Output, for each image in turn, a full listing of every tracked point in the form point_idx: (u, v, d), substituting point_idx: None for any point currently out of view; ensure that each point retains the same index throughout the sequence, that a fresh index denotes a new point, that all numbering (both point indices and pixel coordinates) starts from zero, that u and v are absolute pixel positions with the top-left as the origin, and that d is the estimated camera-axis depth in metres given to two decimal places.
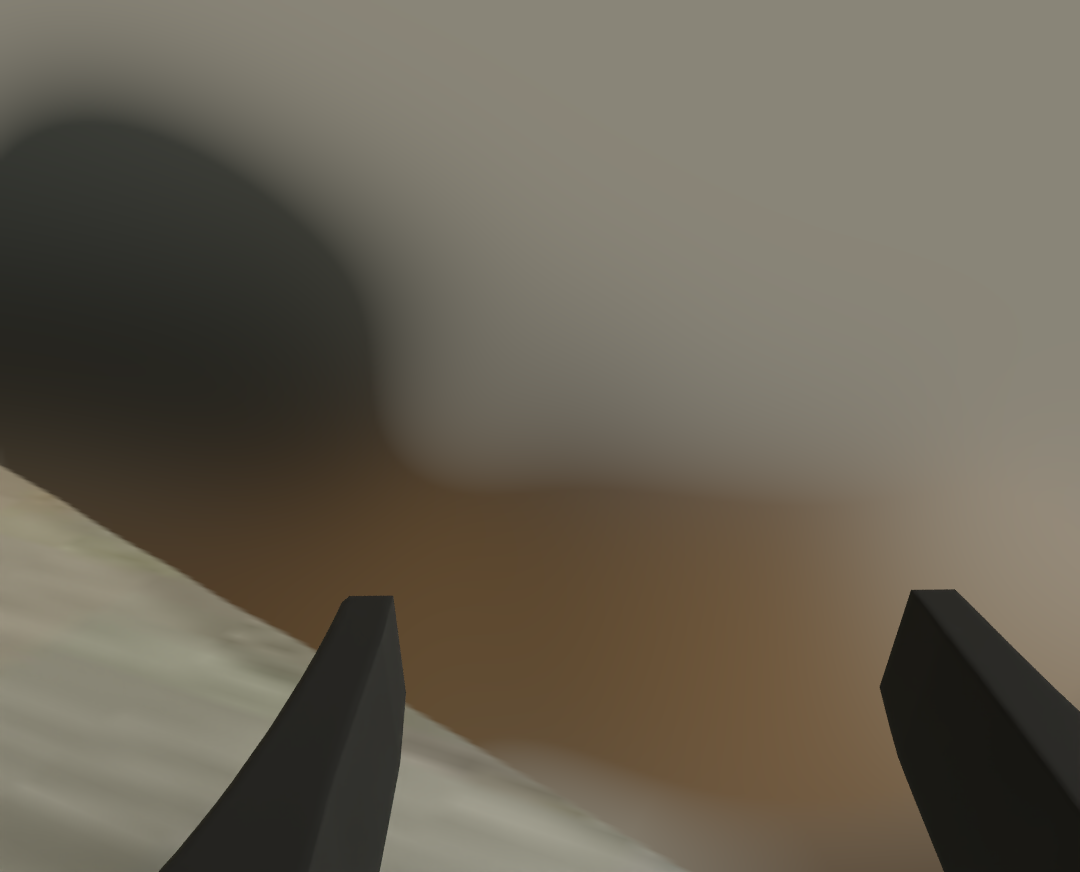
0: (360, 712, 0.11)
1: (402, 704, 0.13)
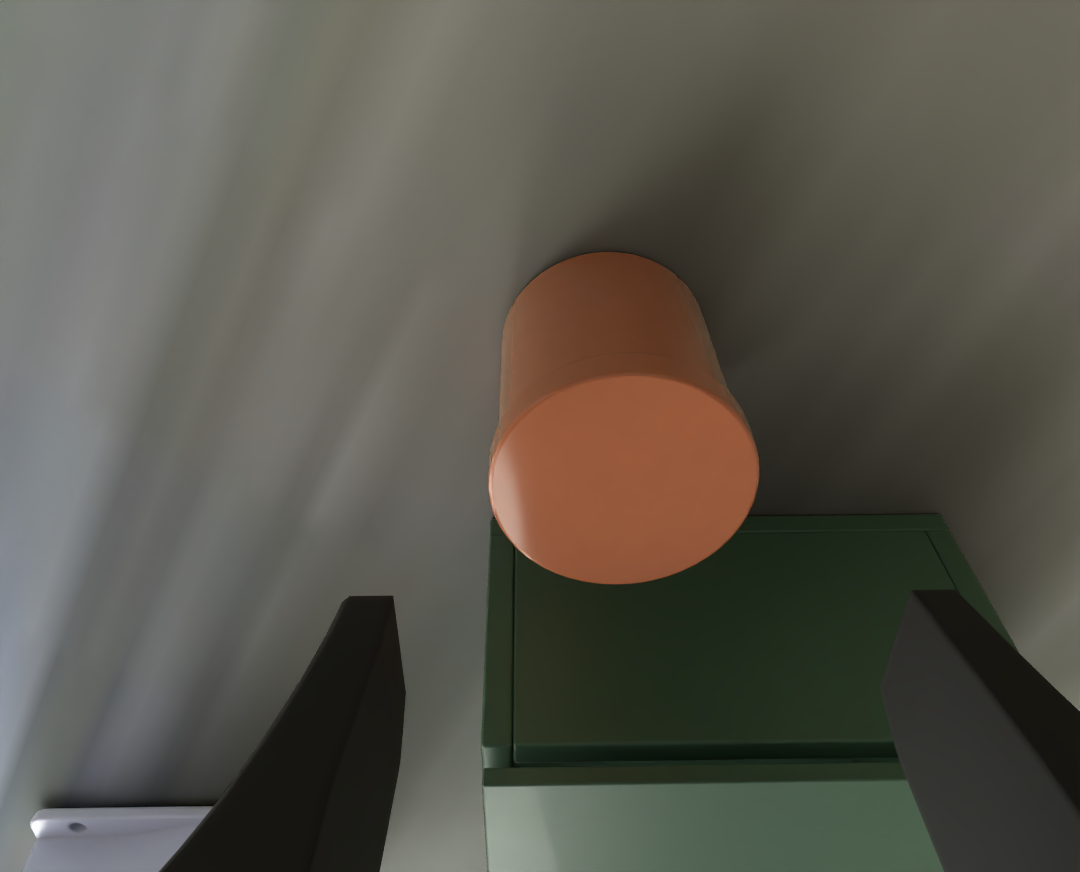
0: (360, 713, 0.11)
1: (402, 704, 0.13)
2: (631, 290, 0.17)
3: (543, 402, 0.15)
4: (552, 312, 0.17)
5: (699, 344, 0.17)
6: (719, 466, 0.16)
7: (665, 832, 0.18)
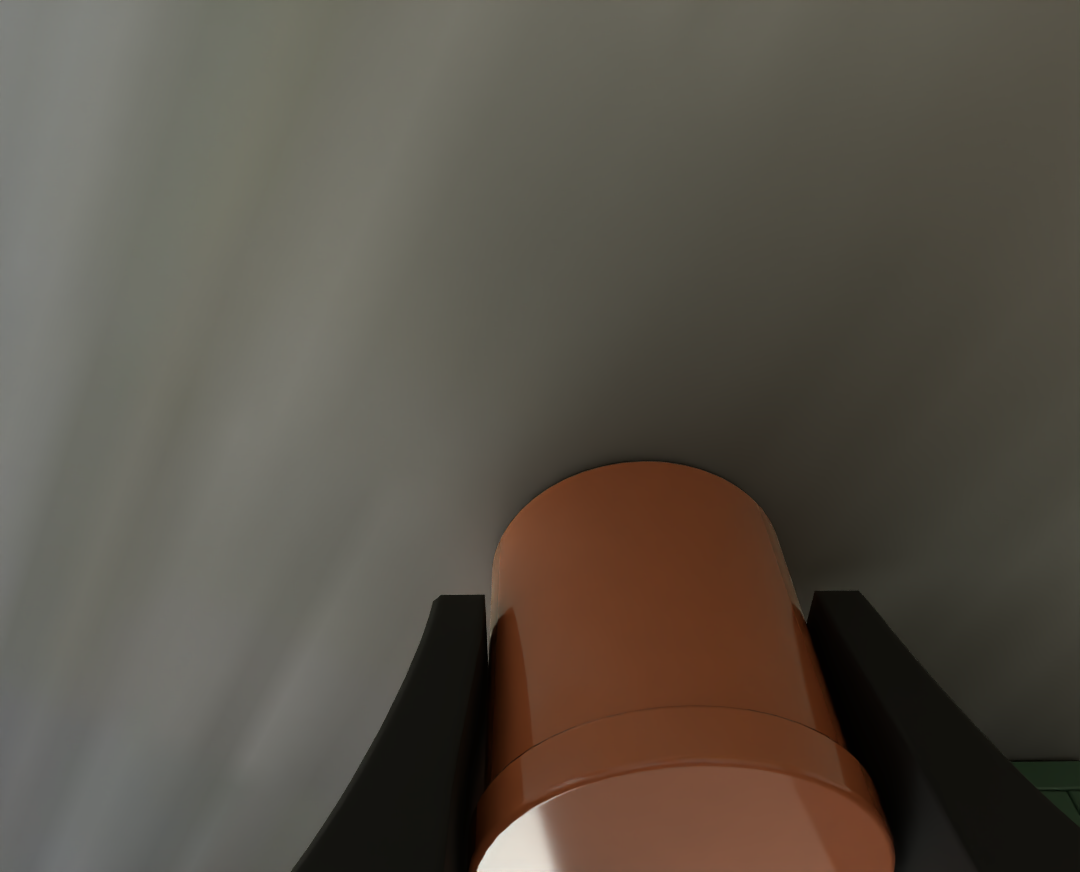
0: (468, 711, 0.11)
1: None
2: (684, 546, 0.11)
3: (554, 796, 0.09)
4: (565, 580, 0.11)
5: (792, 641, 0.11)
6: (833, 866, 0.10)
7: None
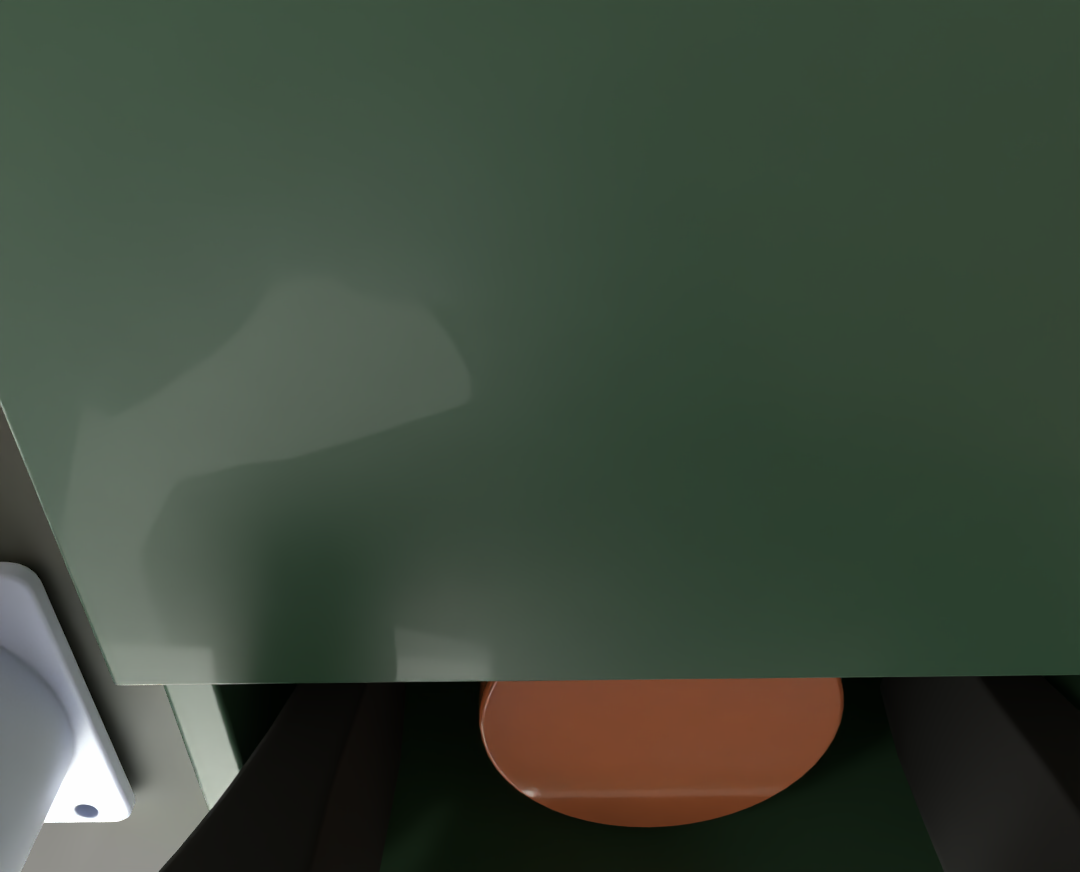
0: (360, 712, 0.11)
1: (402, 704, 0.13)
2: None
3: None
4: None
5: None
6: (790, 702, 0.12)
7: (462, 172, 0.06)
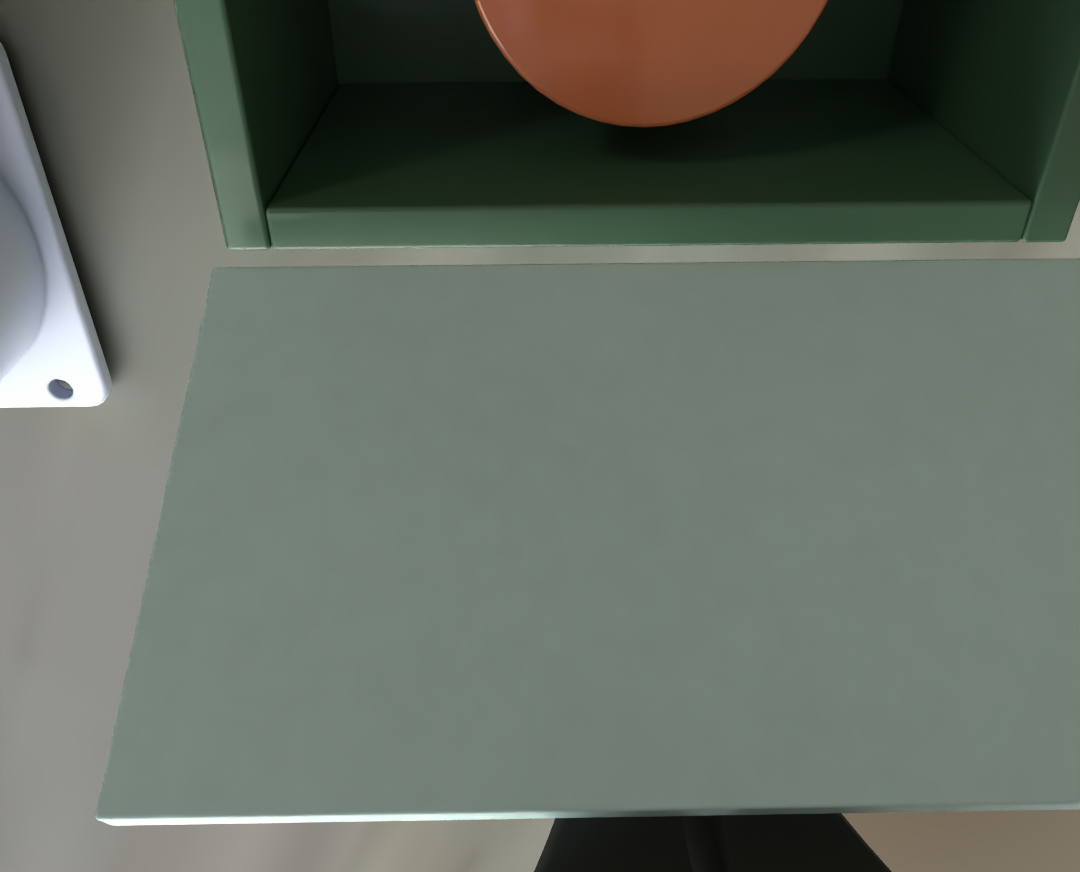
0: None
1: None
2: None
3: None
4: None
5: None
6: None
7: None
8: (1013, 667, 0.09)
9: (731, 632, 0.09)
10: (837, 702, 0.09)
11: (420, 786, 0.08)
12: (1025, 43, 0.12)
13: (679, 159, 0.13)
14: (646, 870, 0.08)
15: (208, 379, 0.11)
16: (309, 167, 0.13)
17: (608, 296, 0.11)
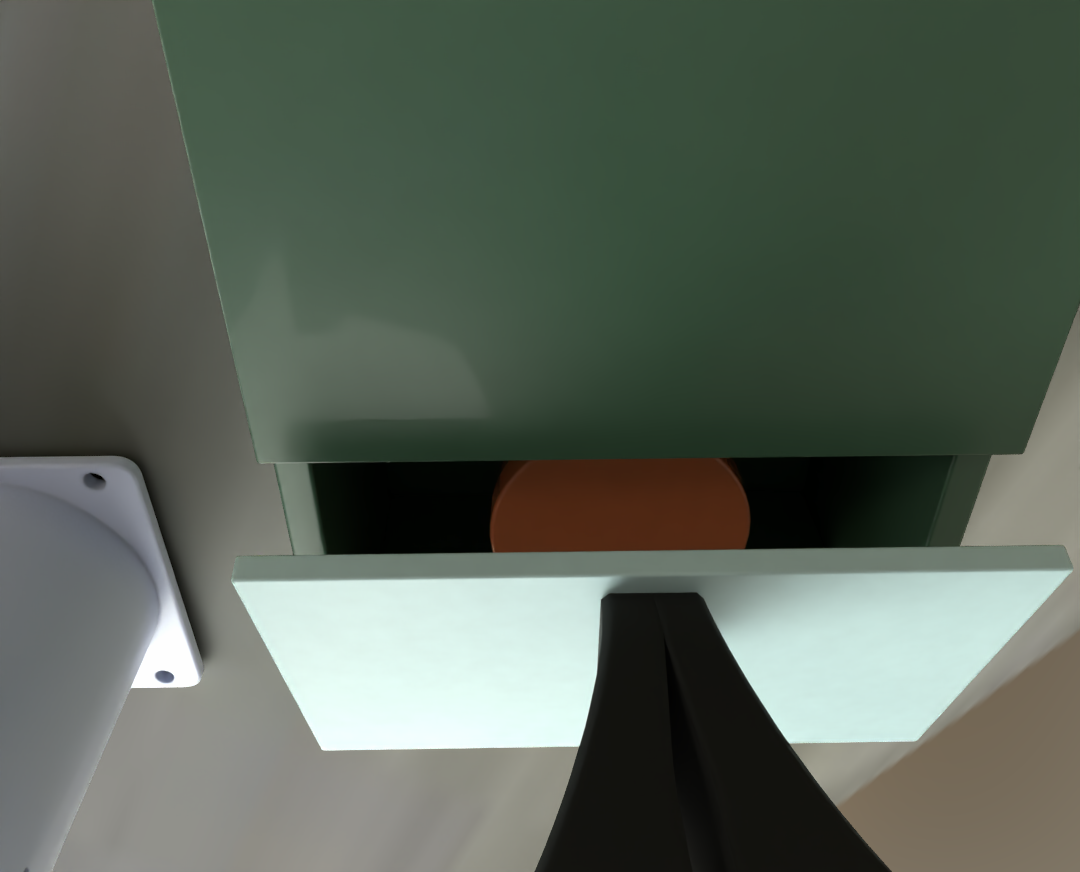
0: None
1: None
2: None
3: None
4: None
5: None
6: (712, 516, 0.16)
7: (485, 120, 0.10)
8: None
9: None
10: None
11: (455, 560, 0.12)
12: None
13: None
14: (647, 870, 0.08)
15: None
16: None
17: None
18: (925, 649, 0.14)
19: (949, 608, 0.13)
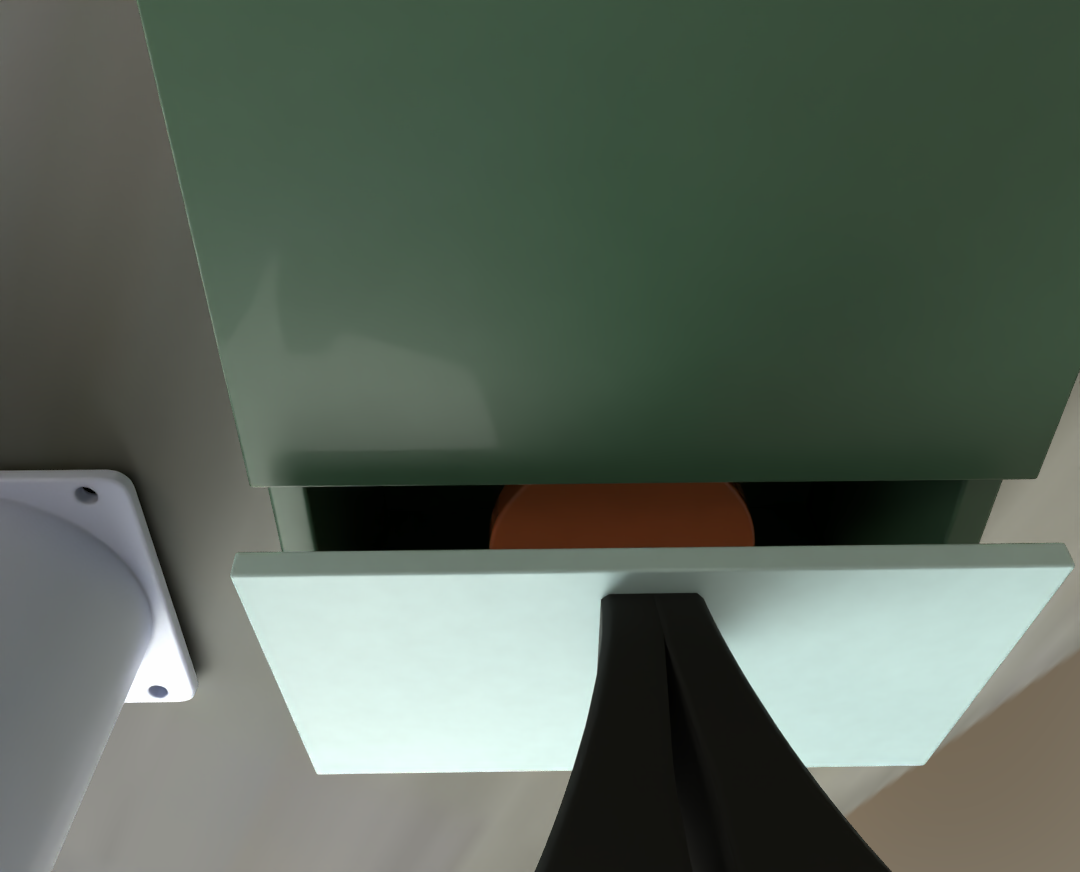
0: None
1: None
2: None
3: None
4: None
5: None
6: (715, 537, 0.16)
7: (486, 139, 0.10)
8: None
9: None
10: None
11: (455, 558, 0.12)
12: None
13: None
14: (646, 870, 0.08)
15: None
16: None
17: None
18: (929, 657, 0.14)
19: (952, 610, 0.13)
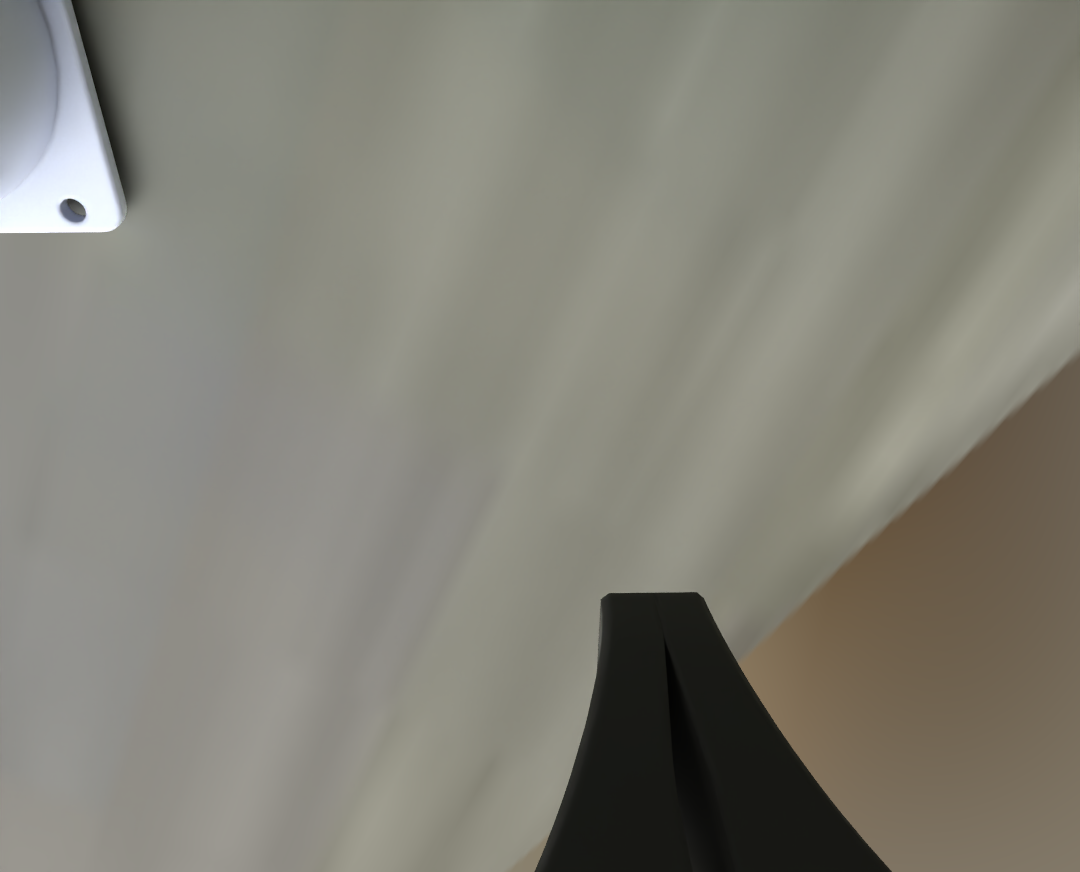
0: None
1: None
2: None
3: None
4: None
5: None
6: None
7: None
8: None
9: None
10: None
11: None
12: None
13: None
14: (646, 870, 0.08)
15: None
16: None
17: None
18: None
19: None
